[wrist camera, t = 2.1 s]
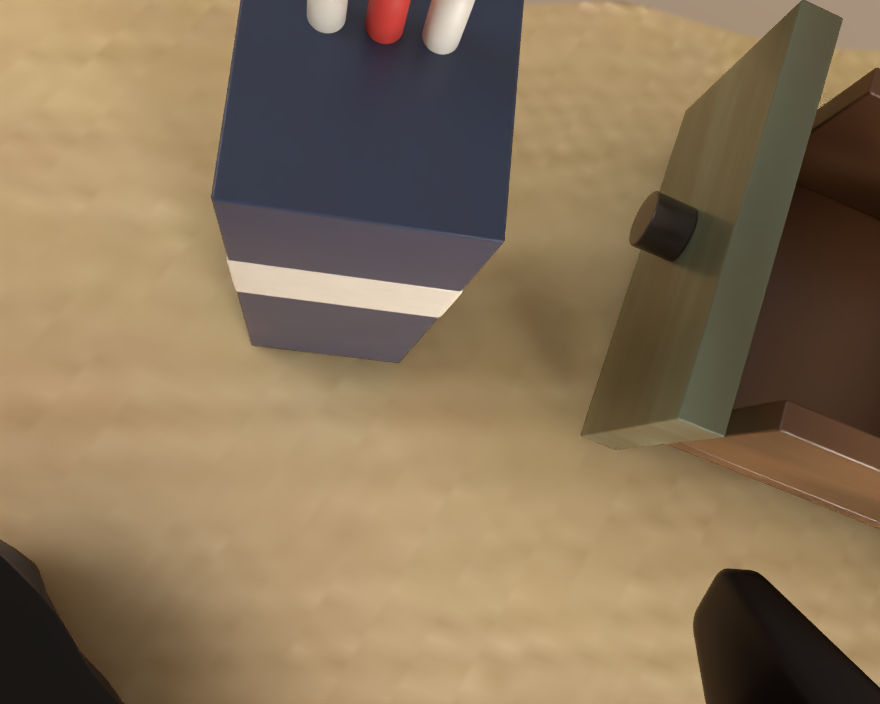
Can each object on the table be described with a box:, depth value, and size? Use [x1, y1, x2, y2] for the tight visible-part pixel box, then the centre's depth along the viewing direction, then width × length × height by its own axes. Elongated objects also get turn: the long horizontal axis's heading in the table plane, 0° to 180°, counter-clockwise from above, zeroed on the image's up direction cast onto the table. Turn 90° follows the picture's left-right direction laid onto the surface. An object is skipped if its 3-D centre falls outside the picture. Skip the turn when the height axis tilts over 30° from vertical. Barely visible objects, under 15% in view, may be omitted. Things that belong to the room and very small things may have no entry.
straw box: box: [211, 0, 524, 363], centre depth 17 cm, size 4×4×15 cm
